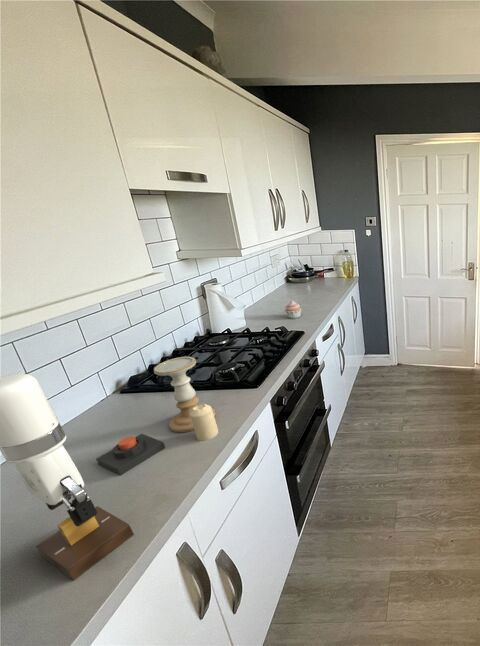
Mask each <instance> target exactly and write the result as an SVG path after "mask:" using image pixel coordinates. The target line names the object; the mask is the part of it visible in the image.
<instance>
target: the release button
mask: <svg viewBox="0 0 480 646" xmlns="http://www.w3.org/2000/svg"><path fill="white" fill-rule="evenodd" d="M135 437H136V436H133V435H131V436H130V435H129V436H127V437H124V438H122V439H121V440H119V441H118V442H117V444H118V445H119V448H120V450H126V449H129V448H132V447H133V446H135V445H136V444H137V441H136V439H135Z"/></svg>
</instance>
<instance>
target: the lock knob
mask: <svg viewBox="0 0 480 646" xmlns="http://www.w3.org/2000/svg"><path fill="white" fill-rule="evenodd" d="M56 526H57V528H58V531H60V532H61V533H62V535H63V537H64V539H65V540H66V542H67V544H69V545H70V546H72V545H73V544H75V543H76V542H77V541H79V540H80V539H82V538H83V537H85V536H86V535H88V534H89V533H90V532H92V531H93V530H95V529H96V528H98V527H99V525H98V523H97V521H96V519H95V517H92V518H91V519H89V520H88V521H86V522H85V523H83V524H82V525H80V526H76V525H75V524H74V522H73V521H72V519H71V517H70V516H69V517H67V518H66V519H63V520H62V521H61V522H59V523H57V525H56Z"/></svg>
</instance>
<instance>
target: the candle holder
mask: <svg viewBox="0 0 480 646" xmlns="http://www.w3.org/2000/svg"><path fill="white" fill-rule="evenodd" d="M196 364H197V359H196V357H193V356H180V357H175V358H171V359H167V360H165V361H163V362H160V363H159V364H157V365H155V366H154V368H153V373H154V374H155V375H156V376H162V377H164V376H166V377H167V376H169V377H170V378H171V379H172V380H171V382H170V385H171V387H173V389H174V394H173V396H174V397H173V398H174V400H175V402H177V403H176V404H175V406H176V408H177V409H179V410H180V412H178V413H177V414H176V415H175V416H173V418H171V420H170V421H169V423H168V426H169V429H170V431H171V432H173V433H178V434H183V433H189V432H193V431H194V427H193V424H192V421H191V418H190V415H189V413H190V412H191V410H192V409H193V408H195V407H197V406H199V404H198V403H199V401H200V398H199V397H197V396H196V394H197V392H196V390H195V388H193V386H192V385H191V383H190V382H191V379H192V378H191V377H190V376H188V375H187V371H188V370H190V369H192V368H194V367H195V365H196ZM212 411H213V414H214V417H215V418H216V410H215V409H214V407H212Z"/></svg>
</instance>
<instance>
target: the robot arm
mask: <svg viewBox="0 0 480 646" xmlns="http://www.w3.org/2000/svg"><path fill="white" fill-rule="evenodd" d="M66 440H67V435H66V432H65V430H64V429H63V427H62V425H61V423H60V422H59V419H58V417H57V416H56V414H55V411H54V409H53V408H52V406H51V404H50V402H49V400H48V398H47V396H46V395H45V392H44V390H43V388H42V387H41V384H40V383H39V381H38V379H37V378H36V377H34V376H33V375H31V374H28V373H15V374H10V375H4V376H1V377H0V452H1V454H2V456H3V458H4V459H5V461H6V463H9V464H14V465H15V467H16V469H17V471H18V473H19V475H20V477H21V479H22V481H23V482H24V485H25V487H26V488H27V490H28V491H29V492H30V494H32V495H33V496H35V497H36V498H38V499H39V500H40V501H42V502H43V503H45V505H46V506H47V508H48V509H49V510H51V511H54V510H55V509H57V508H59V507H60V506H62V505H63V504H64V505H65V506H66V508H67V510H66V511H67V512H66V513H67V514H68V516H69V517H71V519H72V521H73V522H74V524H75V525H76V526H80V525H82V524H83V523H85V522H86V521H88V520H89V519H91V518H92V517H94V516H95V515H96V514H97V511H96V509H95V507H96V506H95V505H94V503H93V501H92V500H91V497H90V496H89V495H88V493H86V491H85V490H84V488H85V482H84V479H83V477H82V475H81V473H80V471H79V470H78V468H77V466H76V464H75V462H74V461H73V459H72V457H71V456H70V454H69V452H68V451H67V450H66V448H65V446H64V445H63V444H64V443H65V442H66ZM72 498H73V499H72ZM71 499H72V500H71ZM70 500H71V501H70Z"/></svg>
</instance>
